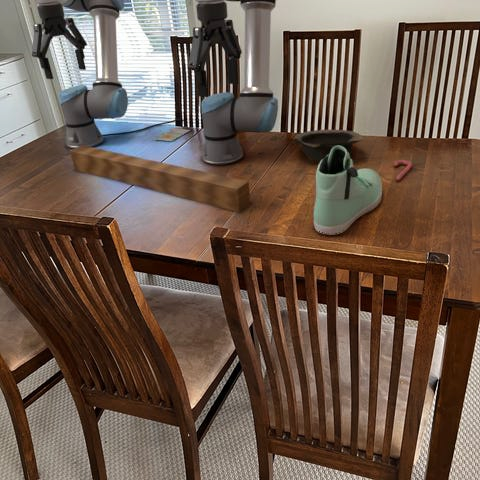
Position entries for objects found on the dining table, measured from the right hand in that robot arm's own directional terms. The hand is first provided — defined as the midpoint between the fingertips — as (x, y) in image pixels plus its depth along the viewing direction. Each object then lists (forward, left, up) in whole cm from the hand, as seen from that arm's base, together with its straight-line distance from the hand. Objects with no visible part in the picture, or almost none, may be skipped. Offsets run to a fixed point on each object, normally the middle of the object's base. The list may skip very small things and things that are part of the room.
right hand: (219, 90), depth 129 cm
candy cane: (-30, +50, -34) cm, 68 cm away
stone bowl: (-43, +24, -34) cm, 60 cm away
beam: (-10, -30, -34) cm, 47 cm away
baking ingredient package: (-58, -43, -34) cm, 81 cm away
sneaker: (-2, +36, -34) cm, 49 cm away
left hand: (-20, -60, 0) cm, 64 cm away
